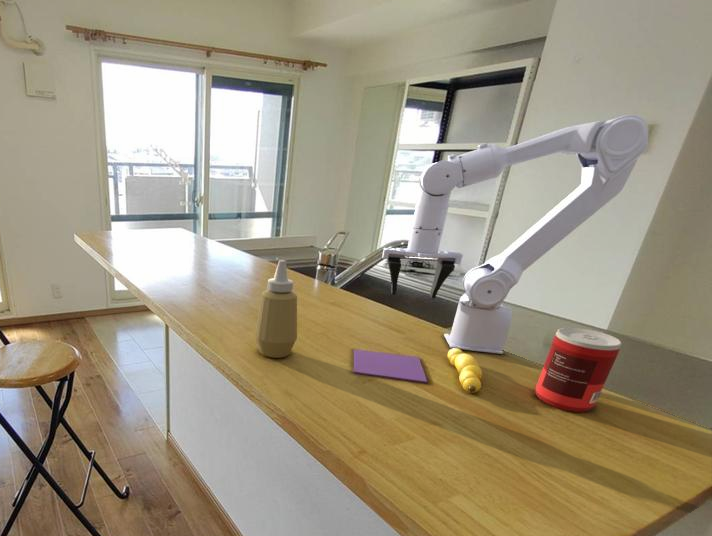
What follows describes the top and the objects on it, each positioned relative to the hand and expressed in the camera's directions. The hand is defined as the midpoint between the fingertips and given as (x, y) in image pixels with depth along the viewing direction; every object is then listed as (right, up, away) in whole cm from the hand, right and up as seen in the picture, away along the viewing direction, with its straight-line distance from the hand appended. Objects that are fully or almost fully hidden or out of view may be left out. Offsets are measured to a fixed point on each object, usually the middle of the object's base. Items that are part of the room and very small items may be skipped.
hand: (412, 295), depth 90 cm
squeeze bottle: (-30, -12, -6) cm, 33 cm away
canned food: (+14, -20, -22) cm, 33 cm away
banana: (+3, -16, -14) cm, 22 cm away
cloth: (-10, -15, -11) cm, 20 cm away
